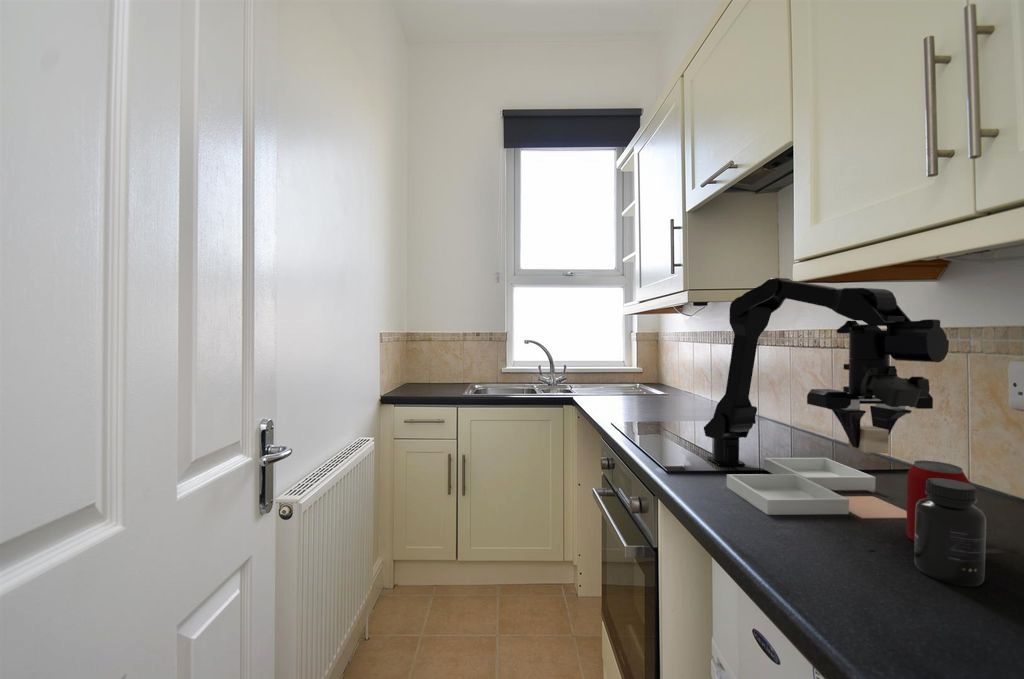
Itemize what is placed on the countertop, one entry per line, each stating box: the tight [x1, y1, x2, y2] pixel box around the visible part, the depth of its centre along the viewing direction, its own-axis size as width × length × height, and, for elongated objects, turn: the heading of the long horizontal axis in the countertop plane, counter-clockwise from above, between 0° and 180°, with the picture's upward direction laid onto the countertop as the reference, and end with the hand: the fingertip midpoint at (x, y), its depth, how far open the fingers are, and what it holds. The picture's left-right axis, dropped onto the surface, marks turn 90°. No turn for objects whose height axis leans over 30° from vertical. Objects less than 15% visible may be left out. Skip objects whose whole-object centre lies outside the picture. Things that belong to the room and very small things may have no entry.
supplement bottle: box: [913, 478, 987, 587], centre depth 62 cm, size 7×7×12 cm
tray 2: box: [763, 457, 876, 493], centre depth 100 cm, size 14×14×3 cm
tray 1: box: [726, 473, 850, 516], centre depth 88 cm, size 14×14×3 cm
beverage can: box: [906, 460, 970, 543], centre depth 70 cm, size 7×7×12 cm
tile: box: [844, 495, 907, 520], centre depth 84 cm, size 10×10×1 cm
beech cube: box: [848, 425, 890, 454], centre depth 84 cm, size 4×4×4 cm
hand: (867, 447), depth 84 cm, fingers closed on beech cube, 4 cm apart
